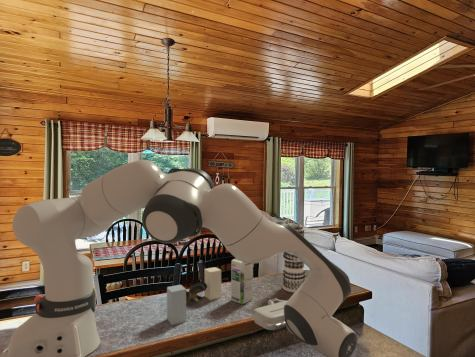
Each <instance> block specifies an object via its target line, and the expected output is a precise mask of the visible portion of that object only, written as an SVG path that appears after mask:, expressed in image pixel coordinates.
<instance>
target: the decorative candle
mask: <svg viewBox="0 0 475 357" xmlns="http://www.w3.org/2000/svg"><path fill="white" fill-rule="evenodd" d="M287 224H288V223H287ZM288 225H289V226H291V227H292V228H294V229H295V230H296V231H297V232H299V233H300V234H301V235H302V236H303V237H304V238H305V239H306V237H305V230H306V228H304V227H303V225H302V224H299V223H289V224H288ZM282 257H283V260H284V265H283V270H282V272H283V274H282V275H283V278H282V281H283V282H282V285H283V286H282V288H283V290H285V291H286V292H290V293H295V291H297V289H298V288H299V287H300V286H301V285H302V283H303V282H304V281H305V280H306V270H305V264H304V263H303V262H302V261H301V260H300V259H299V258H298V257H296V256H295V255H294V254H293V253H292V252H291V251H286V252H284V253H282Z"/></svg>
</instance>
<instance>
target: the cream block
mask: <svg viewBox="0 0 475 357" xmlns="http://www.w3.org/2000/svg"><path fill="white" fill-rule="evenodd" d="M204 282H205V283H206V284H207V288H206V290H205V291H204V297H205V298H207V300H209V301H212V300H217V299H220V298H222V270H221V269H220V268H218V267H217V266H216V267H215V266H214V267H208V268H204Z"/></svg>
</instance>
